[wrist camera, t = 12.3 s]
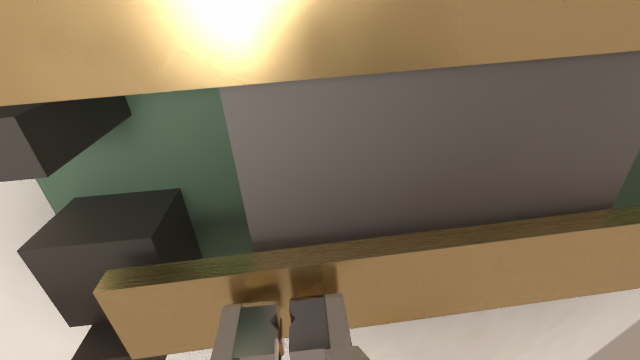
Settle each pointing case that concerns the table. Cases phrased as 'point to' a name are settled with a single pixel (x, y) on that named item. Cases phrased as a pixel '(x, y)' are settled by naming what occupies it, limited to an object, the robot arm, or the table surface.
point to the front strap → (282, 40)
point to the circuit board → (314, 165)
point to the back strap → (379, 277)
